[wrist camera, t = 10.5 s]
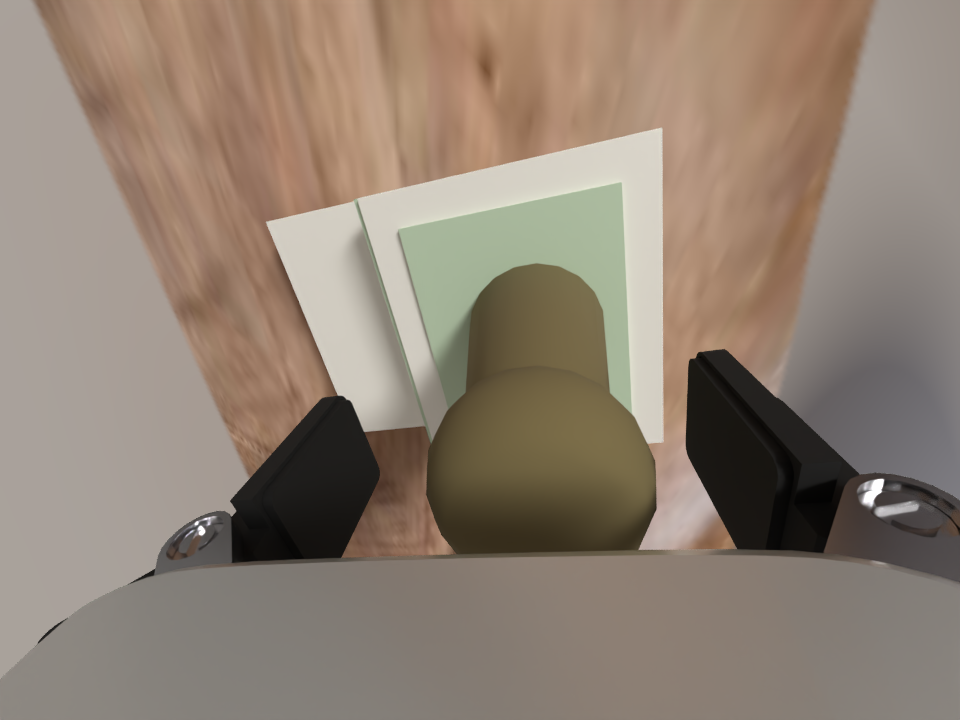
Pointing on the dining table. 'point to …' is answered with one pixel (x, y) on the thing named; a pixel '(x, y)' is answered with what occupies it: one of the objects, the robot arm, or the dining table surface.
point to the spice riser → (481, 274)
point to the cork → (539, 429)
